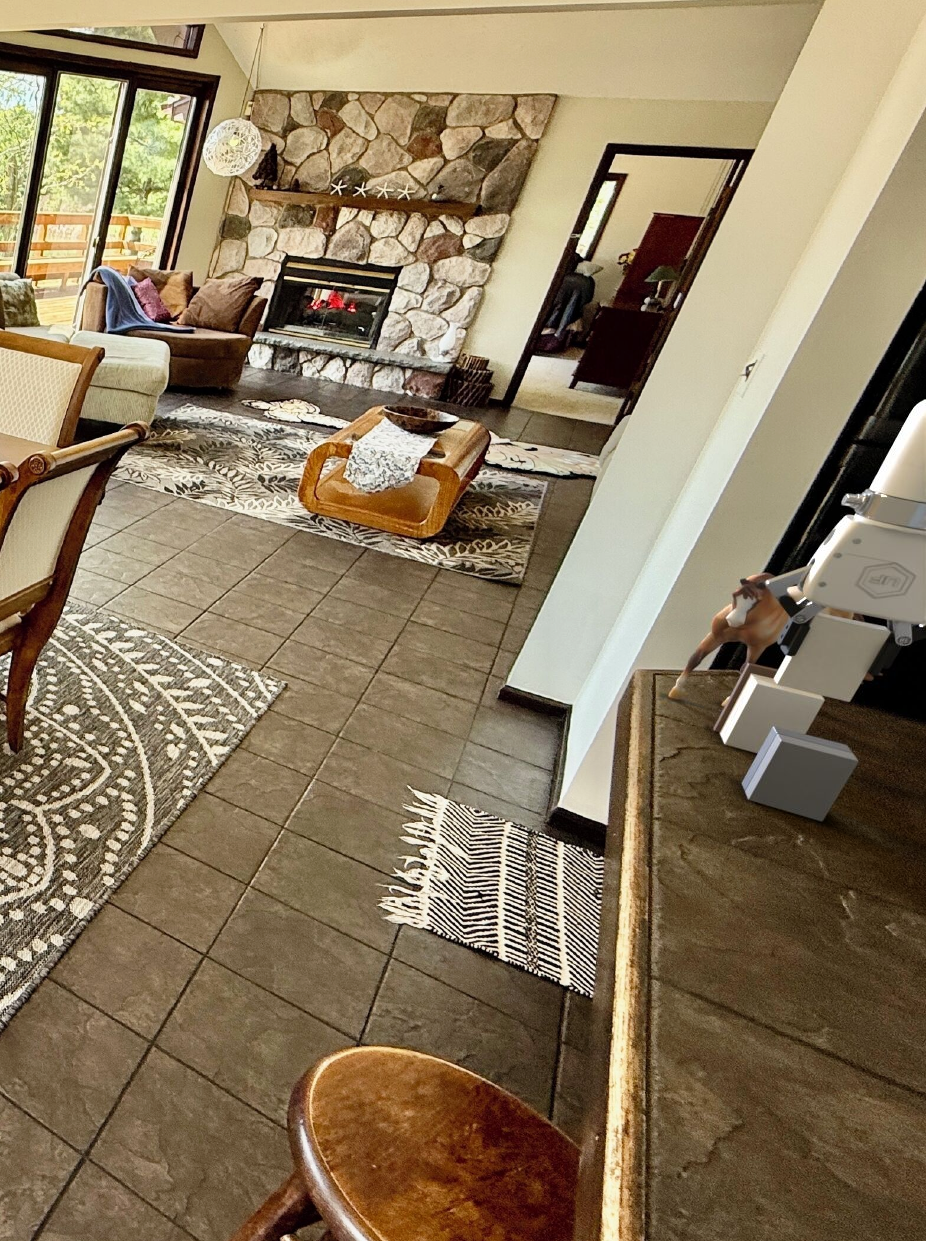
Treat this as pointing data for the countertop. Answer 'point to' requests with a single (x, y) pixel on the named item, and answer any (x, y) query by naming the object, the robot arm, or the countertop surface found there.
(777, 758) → the grey books
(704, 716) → the countertop surface
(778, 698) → the white books
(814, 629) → the white book
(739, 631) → the horse figurine
